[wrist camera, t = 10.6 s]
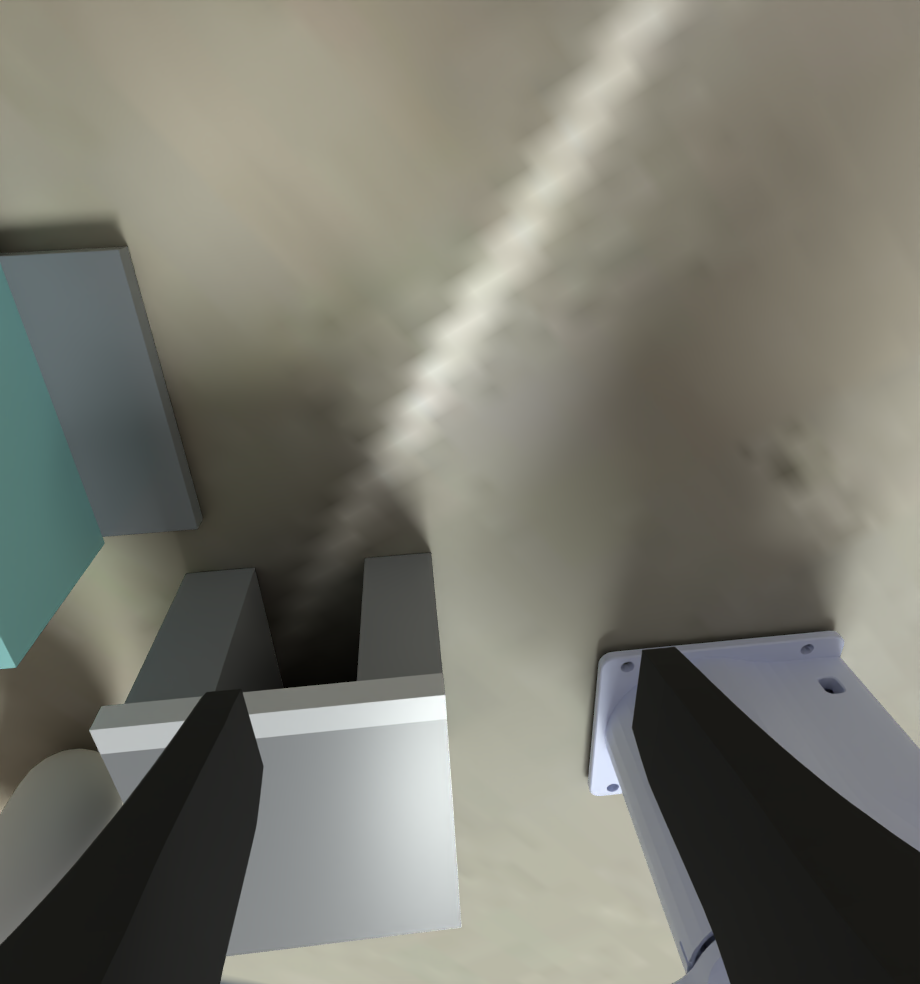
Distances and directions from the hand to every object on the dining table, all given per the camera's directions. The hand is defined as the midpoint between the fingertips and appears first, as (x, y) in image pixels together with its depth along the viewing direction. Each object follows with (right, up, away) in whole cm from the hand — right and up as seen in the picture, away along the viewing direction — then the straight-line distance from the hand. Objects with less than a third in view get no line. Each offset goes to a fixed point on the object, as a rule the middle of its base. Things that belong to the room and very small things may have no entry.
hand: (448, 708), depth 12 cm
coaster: (-12, +6, +6) cm, 15 cm away
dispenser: (-5, -2, +11) cm, 12 cm away
